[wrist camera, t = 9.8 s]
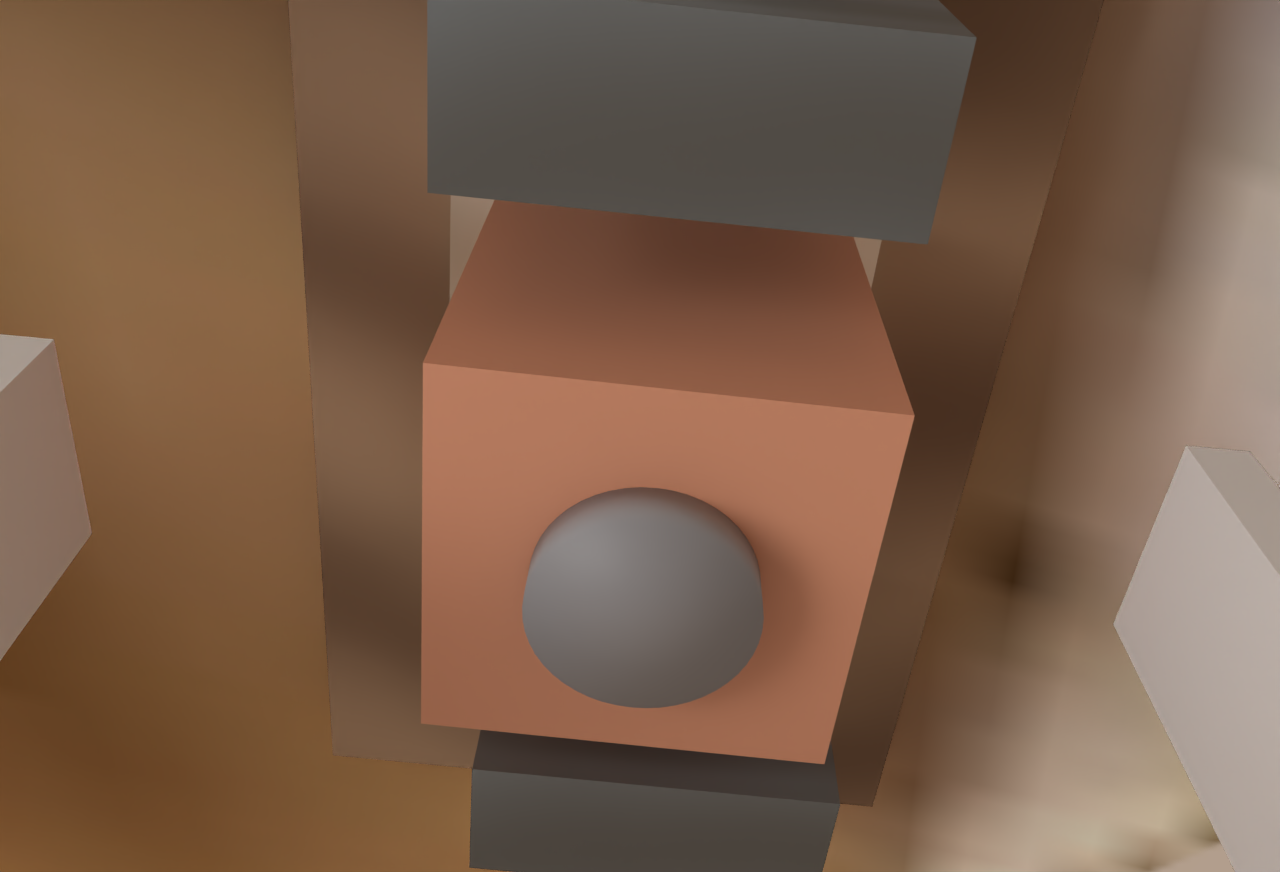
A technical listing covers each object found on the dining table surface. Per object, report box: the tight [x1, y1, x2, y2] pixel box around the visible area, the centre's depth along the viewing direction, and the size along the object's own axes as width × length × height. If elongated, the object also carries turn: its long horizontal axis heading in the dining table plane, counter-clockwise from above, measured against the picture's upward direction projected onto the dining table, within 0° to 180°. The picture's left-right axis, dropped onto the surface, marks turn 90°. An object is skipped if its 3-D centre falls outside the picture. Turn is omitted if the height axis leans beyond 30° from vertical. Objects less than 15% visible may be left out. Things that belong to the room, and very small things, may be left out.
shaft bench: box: [288, 0, 1104, 872], centre depth 16 cm, size 20×11×7 cm, turn 174°
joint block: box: [421, 200, 915, 764], centre depth 15 cm, size 5×5×7 cm
